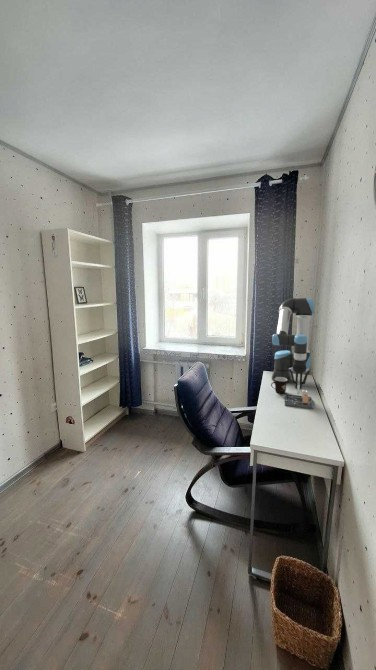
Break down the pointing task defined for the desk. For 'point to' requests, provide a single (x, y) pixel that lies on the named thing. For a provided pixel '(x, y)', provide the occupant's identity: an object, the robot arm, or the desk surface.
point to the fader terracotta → (305, 398)
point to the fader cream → (304, 392)
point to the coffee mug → (280, 385)
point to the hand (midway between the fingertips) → (298, 393)
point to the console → (297, 401)
